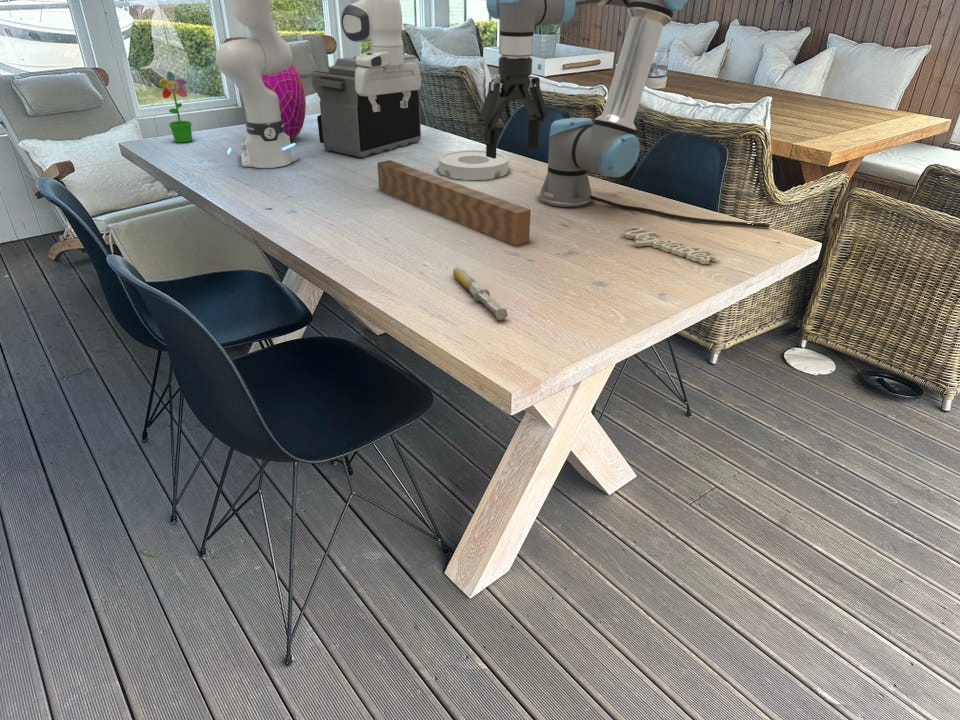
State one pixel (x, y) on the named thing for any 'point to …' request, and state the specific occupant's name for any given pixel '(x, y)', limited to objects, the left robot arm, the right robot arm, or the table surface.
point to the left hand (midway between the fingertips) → (390, 109)
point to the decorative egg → (288, 98)
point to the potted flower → (178, 128)
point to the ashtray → (472, 165)
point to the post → (456, 202)
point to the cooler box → (362, 114)
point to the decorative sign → (669, 245)
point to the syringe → (479, 293)
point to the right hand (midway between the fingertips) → (512, 152)
